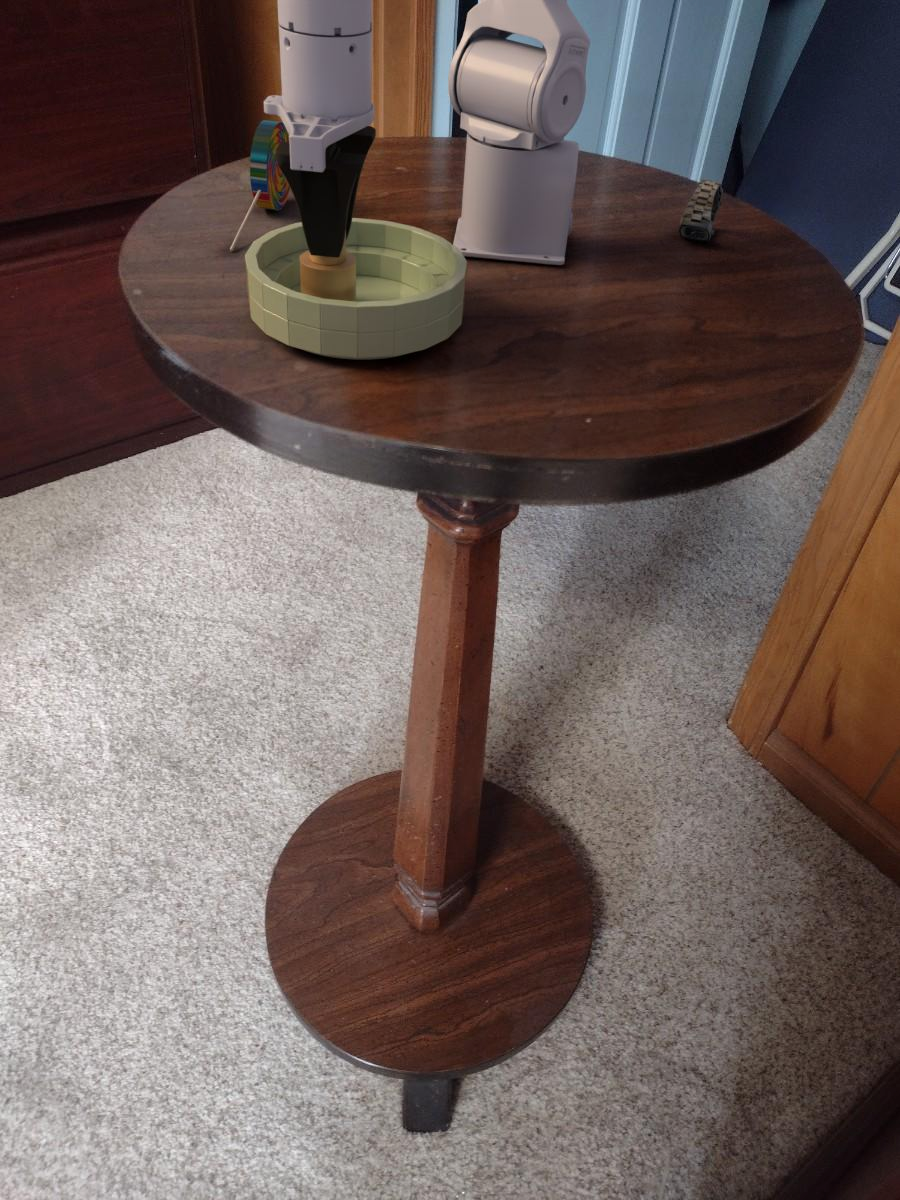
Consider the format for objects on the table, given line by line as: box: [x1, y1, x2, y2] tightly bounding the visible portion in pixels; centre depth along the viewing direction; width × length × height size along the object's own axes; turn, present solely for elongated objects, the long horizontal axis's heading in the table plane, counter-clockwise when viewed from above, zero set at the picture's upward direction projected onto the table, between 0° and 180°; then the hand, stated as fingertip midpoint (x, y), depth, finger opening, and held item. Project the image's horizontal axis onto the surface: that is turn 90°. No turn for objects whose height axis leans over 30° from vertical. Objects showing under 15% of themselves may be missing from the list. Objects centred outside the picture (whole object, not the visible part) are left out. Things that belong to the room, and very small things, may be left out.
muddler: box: [300, 233, 356, 302], centre depth 68 cm, size 4×4×8 cm
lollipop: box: [229, 119, 291, 252], centre depth 83 cm, size 7×1×15 cm
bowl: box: [244, 217, 468, 361], centre depth 70 cm, size 16×16×4 cm
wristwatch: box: [678, 178, 724, 243], centre depth 87 cm, size 3×5×5 cm
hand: (329, 245), depth 68 cm, fingers closed on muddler, 2 cm apart
